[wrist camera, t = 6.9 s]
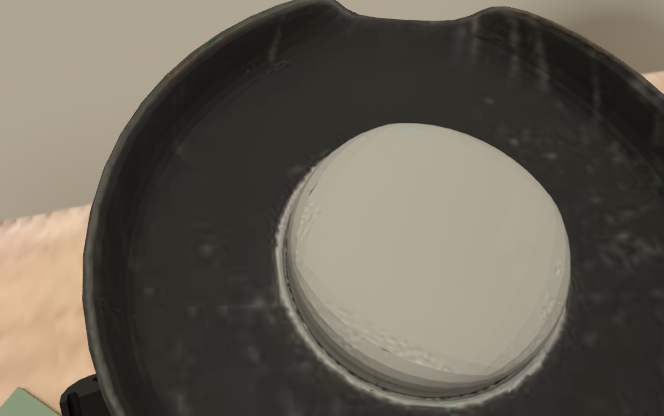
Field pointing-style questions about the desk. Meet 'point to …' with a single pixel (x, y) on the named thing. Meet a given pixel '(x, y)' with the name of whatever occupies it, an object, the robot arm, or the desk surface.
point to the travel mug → (383, 225)
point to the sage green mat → (25, 405)
